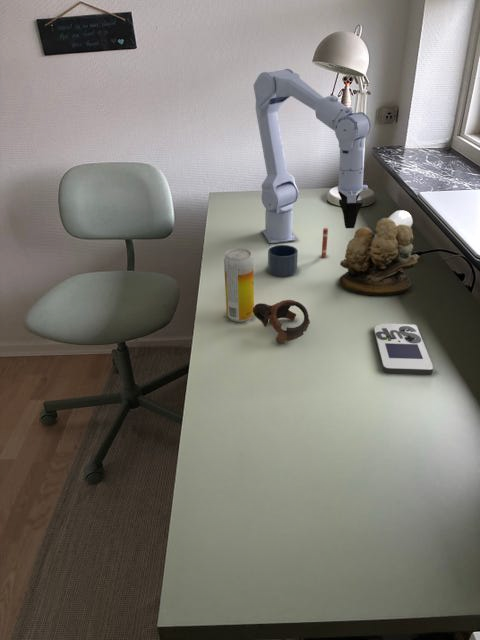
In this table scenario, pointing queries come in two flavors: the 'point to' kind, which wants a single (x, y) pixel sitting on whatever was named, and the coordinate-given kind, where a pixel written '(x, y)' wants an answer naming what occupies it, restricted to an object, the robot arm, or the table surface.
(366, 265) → the owl figurine
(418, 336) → the handheld game console
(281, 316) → the brown knobby curled ring
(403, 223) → the white rounded cylinder
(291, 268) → the cup
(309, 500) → the table surface
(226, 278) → the beer can
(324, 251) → the baton
